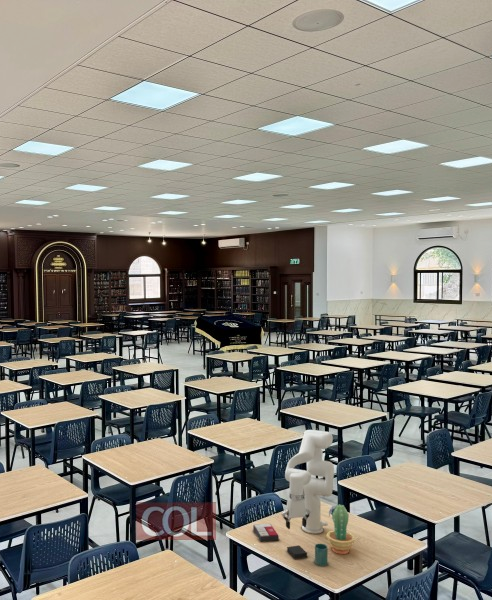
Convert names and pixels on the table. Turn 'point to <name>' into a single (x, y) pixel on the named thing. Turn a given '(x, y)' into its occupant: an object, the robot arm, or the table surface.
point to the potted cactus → (340, 530)
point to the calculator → (265, 532)
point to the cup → (321, 554)
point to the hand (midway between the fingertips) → (296, 527)
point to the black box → (297, 552)
